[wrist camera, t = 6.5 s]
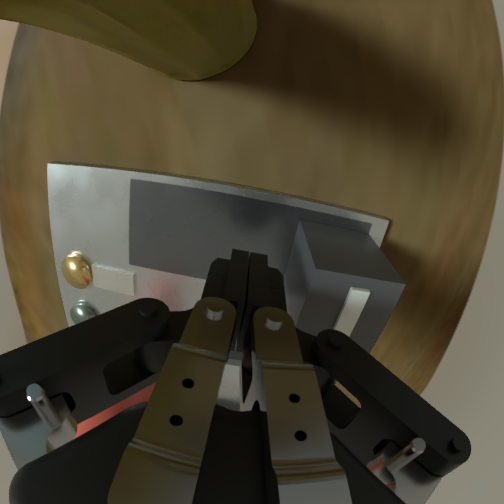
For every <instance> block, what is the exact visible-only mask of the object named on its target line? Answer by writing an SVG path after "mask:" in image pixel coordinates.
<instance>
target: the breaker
mask: <svg viewBox="0 0 504 504" xmlns="http://www.w3.org/2000/svg"><path fill="white" fill-rule="evenodd" d="M405 286H406V283H405V282H404V281H403V279H402V278H401V276H400V275H399V274H398V272H397V271H396V269H395V268H394V267H393V265H392V264H391V263H390V261H389V260H388V258H387V257H386V256H385V254H384V253H383V252H382V250H381V249H380V248H379V247H378V245H377V244H376V243H375V241H374V240H373V239H372V237H371V236H370V235H369V234H365V233H360V232H356V231H352V230H347V229H343V228H338V227H334V226H329V225H324V224H320V223H315V222H310V221H305V220H299V224H298V227H297V231H296V235H295V239H294V242H293V246H292V250H291V253H290V257H289V260H288V264H287V268H286V271H285V275H284V287H285V296H286V305H287V313H288V314H289V315H290V316H291V317H292V319H293V321H294V324H295V327H296V328H298V329H299V330H301V331H303V332H306V333H308V334H311V335H314V336H317V335H318V333H319V332H321V331H323V330H326V329H333V330H338V331H340V332H343V333H344V334H346V335H347V336H349V337H350V338H351V339H352V340H353V341H355V342H356V343H357V344H358V345H359V346H361V347H362V348H363V349H364V350H365V351H367V352H368V353H370V352H371V350H372V348H373V346H374V345H375V343H376V341H377V340H378V338H379V336H380V334H381V333H382V331H383V329H384V327H385V325H386V323H387V322H388V320H389V318H390V316H391V314H392V312H393V310H394V308H395V306H396V304H397V302H398V300H399V298H400V296H401V294H402V292H403V290H404V288H405Z"/></svg>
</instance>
